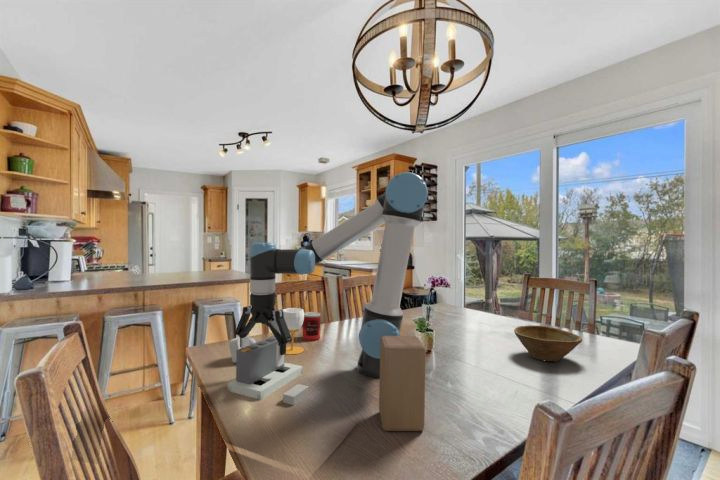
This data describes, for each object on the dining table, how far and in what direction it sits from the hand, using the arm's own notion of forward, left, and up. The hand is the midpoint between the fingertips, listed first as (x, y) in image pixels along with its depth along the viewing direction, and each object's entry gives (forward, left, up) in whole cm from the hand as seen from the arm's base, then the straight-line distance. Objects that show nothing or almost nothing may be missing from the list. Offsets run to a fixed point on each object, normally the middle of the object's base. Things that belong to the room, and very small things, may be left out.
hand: (262, 361), depth 104 cm
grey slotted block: (0, 0, -6) cm, 6 cm away
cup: (+9, -28, -7) cm, 30 cm away
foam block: (-16, +5, -6) cm, 18 cm away
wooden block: (-45, +2, -7) cm, 46 cm away
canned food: (+11, -45, -7) cm, 47 cm away
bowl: (-82, -65, -7) cm, 105 cm away
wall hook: (+16, -12, -7) cm, 21 cm away
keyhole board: (-2, 0, -6) cm, 7 cm away
